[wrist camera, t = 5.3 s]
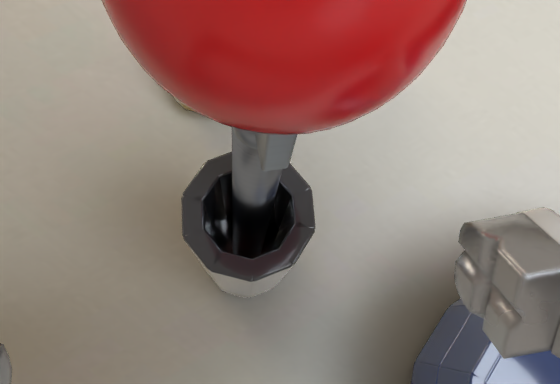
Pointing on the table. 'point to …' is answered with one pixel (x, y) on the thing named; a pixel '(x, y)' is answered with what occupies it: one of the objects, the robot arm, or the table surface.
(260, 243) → the baster
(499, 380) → the bowl
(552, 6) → the table surface
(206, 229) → the cup
